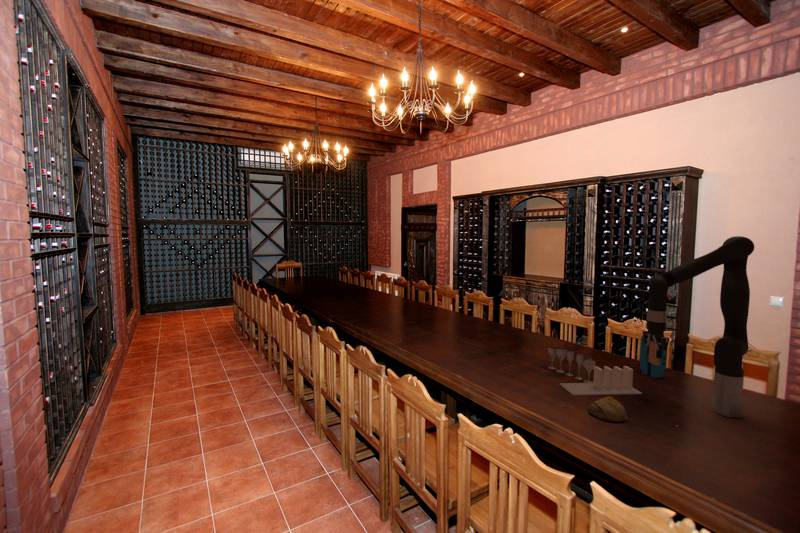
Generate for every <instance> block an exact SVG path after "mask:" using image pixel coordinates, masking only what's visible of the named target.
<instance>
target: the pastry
mask: <svg viewBox="0 0 800 533" xmlns="http://www.w3.org/2000/svg"><path fill="white" fill-rule="evenodd" d="M587 408H588V409H587V410H588V412H589V413H590V414H591V415H593V416H594V417H596V418H597V419H600V420H603V421H607V422H615V423H620V422H627V421H628V416H627V412H626V408H625V407H624V405H623V404H622V402H621V401H620V400H618V399H617V398H615V397H614V396H612V395H606V396H605V397H602V398H600V399H597V400H594V401H593V402H592V403H591V404H590V405H588V407H587Z"/></svg>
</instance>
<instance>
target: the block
mask: <svg viewBox="0 0 800 533" xmlns="http://www.w3.org/2000/svg"><path fill="white" fill-rule="evenodd" d="M640 337H641V338H640V349H639V350H640V352H639V364H640V365H639V366H640V370H641V373H642V374H644V375H646V376H647V375H650V377H652V378H654V379H661V378H663V376H664V373H665V370H666V368H667V361H668V360H667V359H668V348H669V347H667V350H663V353H662V358H660V365H655V364H653V363H650V362H648V361H649V354H647V345H646V344H644V340H643V335H641V336H640ZM646 341H647V339H646ZM658 343H660V342H658Z"/></svg>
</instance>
